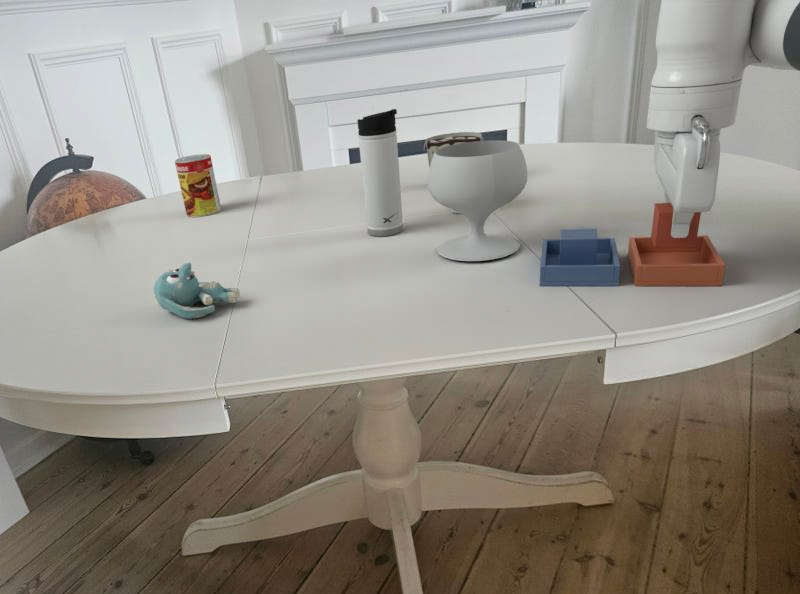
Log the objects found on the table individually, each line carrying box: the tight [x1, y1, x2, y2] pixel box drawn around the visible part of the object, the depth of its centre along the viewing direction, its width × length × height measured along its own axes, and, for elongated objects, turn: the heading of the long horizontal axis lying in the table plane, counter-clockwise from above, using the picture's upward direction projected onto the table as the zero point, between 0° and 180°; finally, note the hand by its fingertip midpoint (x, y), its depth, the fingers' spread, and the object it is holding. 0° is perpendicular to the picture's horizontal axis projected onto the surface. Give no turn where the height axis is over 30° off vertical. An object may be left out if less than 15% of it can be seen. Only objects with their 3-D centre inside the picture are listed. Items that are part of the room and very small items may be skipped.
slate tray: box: [539, 237, 621, 287], centre depth 83 cm, size 9×11×3 cm
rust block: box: [650, 202, 702, 248], centre depth 77 cm, size 4×4×4 cm
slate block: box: [559, 228, 599, 265], centre depth 82 cm, size 4×4×4 cm
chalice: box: [427, 139, 528, 262], centre depth 93 cm, size 14×14×15 cm
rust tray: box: [627, 234, 726, 287], centre depth 79 cm, size 9×11×3 cm
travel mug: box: [357, 108, 404, 238], centre depth 106 cm, size 6×7×20 cm
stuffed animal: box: [153, 261, 241, 320], centre depth 88 cm, size 11×7×12 cm
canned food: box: [174, 153, 222, 218], centre depth 140 cm, size 8×8×12 cm
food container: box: [423, 131, 485, 168], centre depth 134 cm, size 12×6×10 cm, turn 80°
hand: (674, 228), depth 78 cm, fingers closed on rust block, 4 cm apart
